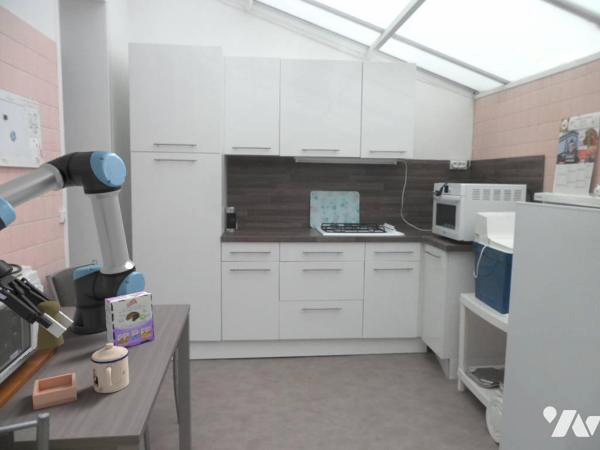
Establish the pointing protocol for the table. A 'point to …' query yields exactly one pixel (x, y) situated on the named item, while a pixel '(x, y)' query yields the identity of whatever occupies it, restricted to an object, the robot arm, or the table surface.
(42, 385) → the tray
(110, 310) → the candy box
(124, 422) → the table surface
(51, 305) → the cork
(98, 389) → the teacup with lid
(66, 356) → the table surface
